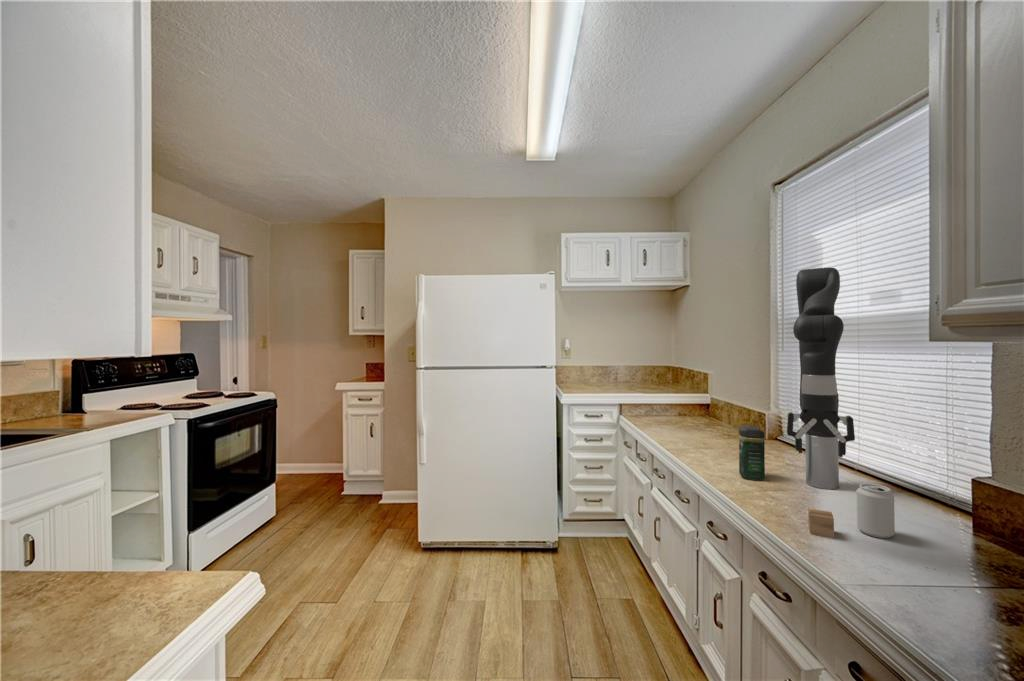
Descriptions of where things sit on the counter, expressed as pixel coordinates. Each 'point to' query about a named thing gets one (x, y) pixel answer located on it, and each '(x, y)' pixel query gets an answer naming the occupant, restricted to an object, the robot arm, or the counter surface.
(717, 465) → the counter surface
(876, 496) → the can
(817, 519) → the block
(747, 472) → the coffee jar
